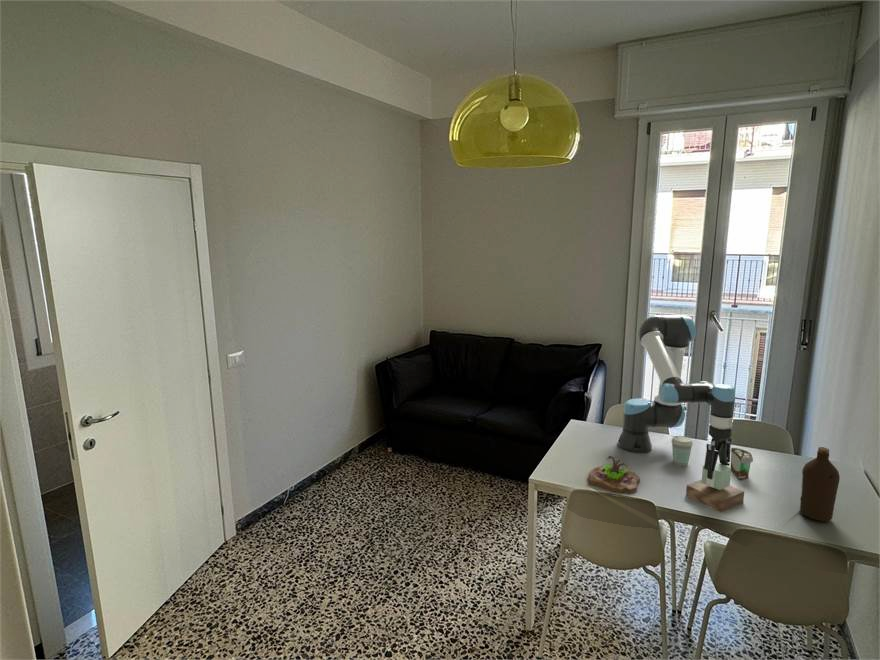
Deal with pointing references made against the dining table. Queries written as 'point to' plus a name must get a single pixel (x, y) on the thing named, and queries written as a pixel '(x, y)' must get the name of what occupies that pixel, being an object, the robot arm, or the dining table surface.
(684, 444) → the coffee cup
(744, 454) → the food container
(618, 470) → the plant
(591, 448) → the dining table surface
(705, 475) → the sage cube
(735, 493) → the walnut block
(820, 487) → the brown bottle
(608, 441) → the dining table surface
